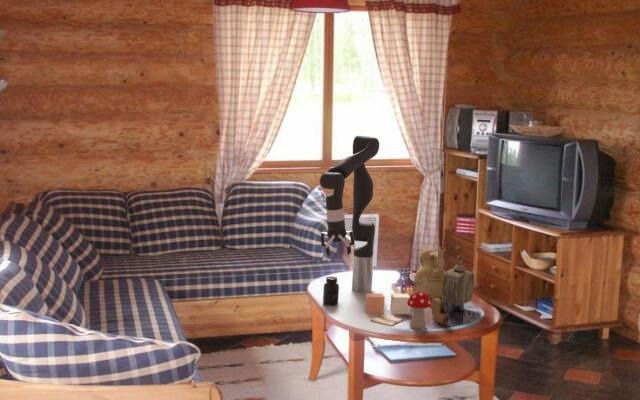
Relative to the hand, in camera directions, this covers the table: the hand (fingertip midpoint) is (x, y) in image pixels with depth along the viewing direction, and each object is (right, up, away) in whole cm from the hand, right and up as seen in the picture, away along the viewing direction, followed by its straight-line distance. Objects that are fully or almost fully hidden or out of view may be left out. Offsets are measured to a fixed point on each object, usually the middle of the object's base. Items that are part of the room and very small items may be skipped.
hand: (338, 254), depth 320 cm
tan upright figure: (+44, -22, +31) cm, 58 cm away
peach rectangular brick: (+15, -25, +2) cm, 29 cm away
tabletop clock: (+53, -25, +10) cm, 59 cm away
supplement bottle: (-3, -23, +11) cm, 26 cm away
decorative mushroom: (+32, -29, -16) cm, 46 cm away
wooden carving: (+42, -28, -8) cm, 51 cm away
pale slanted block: (+27, -25, +3) cm, 37 cm away
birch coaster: (+20, -27, -9) cm, 35 cm away
